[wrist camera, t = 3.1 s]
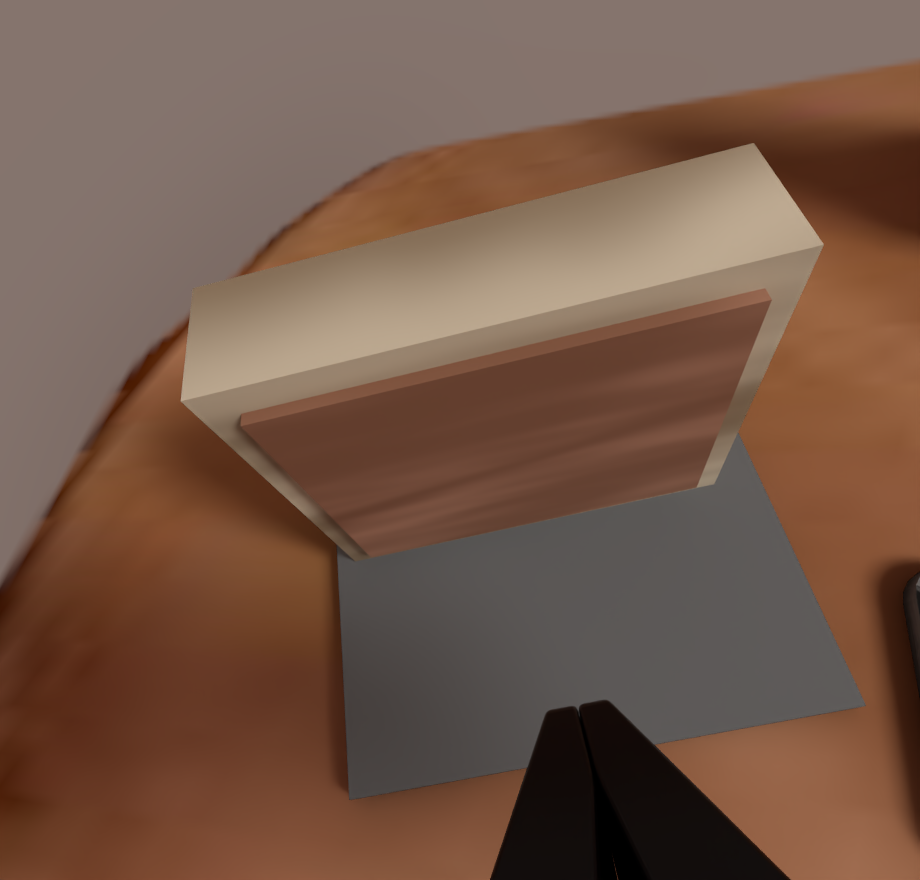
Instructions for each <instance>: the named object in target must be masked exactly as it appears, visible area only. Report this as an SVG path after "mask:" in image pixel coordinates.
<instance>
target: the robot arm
mask: <svg viewBox="0 0 920 880" xmlns="http://www.w3.org/2000/svg"><path fill="white" fill-rule="evenodd" d="M579 715H580V716H579ZM613 860H614V861H613ZM614 864H615V865H614ZM615 868H616V870H615ZM616 873H617V874H616ZM617 877H618V879H617ZM490 880H790V879H789V878H788V877H787V876H786V875H785V874H784V873H783V872H782V871H781V870H780V869H779V868H778V867H777V866H776V865H775V864H774V863H773V862H772V861H771V860H770V859H769V858H768V857H767V856H766V855H765V854H764V853H763V852H762V851H761V850H760V849H759V848H758V847H757V846H756V845H755V844H754V843H753V842H752V841H751V840H750V839H749V838H748V837H747V836H746V835H745V834H744V833H743V832H742V831H741V830H740V829H739V828H738V827H737V826H736V825H735V824H734V823H733V822H732V821H731V820H730V819H729V818H728V817H727V816H726V815H725V814H724V813H723V812H722V811H721V810H720V809H719V808H718V807H717V806H716V805H715V804H714V803H713V802H712V801H711V800H710V799H709V798H708V797H707V796H706V795H705V794H704V793H703V792H701V791H700V790H699V789H698V788H697V787H696V786H695V785H694V784H693V783H692V782H691V781H690V780H689V779H688V778H687V777H686V776H685V775H684V774H683V773H682V772H681V771H680V770H679V769H678V768H677V767H676V766H675V765H674V764H673V763H672V762H671V761H670V760H669V759H668V758H667V757H666V756H665V755H664V754H663V753H662V752H661V751H660V750H659V749H658V748H657V747H656V746H655V745H654V744H653V743H652V742H651V741H650V740H649V739H648V738H647V737H646V736H645V735H644V734H643V733H642V732H641V731H640V730H639V729H638V728H637V727H636V726H635V725H634V724H633V723H632V722H631V721H630V720H629V719H628V718H627V717H626V716H625V715H624V714H623V713H622V712H621V711H620V710H619V709H618V708H617V707H616V706H615V705H614V704H612V703H611V702H610V701H609V700H599V701H594V702H588V703H583V704H581V705H580V706H579V712H578V709H577V708H576V707H575V706H567V707H562V708H556V709H551V710H549V711H547V712H546V714H545V716H544V719H543V722H542V725H541V728H540V731H539V734H538V737H537V740H536V743H535V746H534V749H533V752H532V755H531V758H530V761H529V764H528V767H527V770H526V773H525V776H524V779H523V782H522V785H521V788H520V791H519V794H518V797H517V800H516V803H515V806H514V809H513V812H512V815H511V818H510V821H509V824H508V827H507V830H506V833H505V836H504V839H503V842H502V845H501V848H500V851H499V854H498V857H497V860H496V863H495V866H494V869H493V872H492V875H491V878H490Z"/></svg>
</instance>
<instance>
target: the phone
mask: <svg viewBox="0 0 920 880" xmlns="http://www.w3.org/2000/svg"><path fill="white" fill-rule="evenodd" d="M903 605H904V611H905V617H906V623H907V628H908V634H909V640H910V645H911V651H912V657H913V662H914V668H915V674H916V680H917V685H918V691H919V697H920V572H919V573H917V574H916V575H915V576H914V577H913V578H911V579H910V580H909V581H908V583H907V585H906V587H905V589H904V592H903Z"/></svg>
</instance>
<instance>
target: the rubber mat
mask: <svg viewBox="0 0 920 880" xmlns="http://www.w3.org/2000/svg"><path fill="white" fill-rule="evenodd" d="M337 560H338V581H339V601H340V621H341V641H342V662H343V682H344V702H345V722H346V743H347V763H348V783H349V800H352V799H359V798H364V797H370V796H375V795H381V794H386V793H392V792H397V791H403V790H408V789H414V788H419V787H425V786H430V785H436V784H441V783H447V782H452V781H458V780H463V779H469V778H474V777H480V776H485V775H491V774H496V773H502V772H507V771H512V770H518V769H523V768H527V767H528V764H529V761H530V758H531V755H532V752H533V749H534V746H535V743H536V740H537V737H538V734H539V731H540V728H541V725H542V722H543V719H544V716H545V714H546V712H547V711H549V710H551V709H556V708H562V707H567V706H575V707H576V708H577V709H578V712H579V706H580V705H581V704H583V703H588V702H594V701H599V700H609V701H610V702H611V703H612V704H614V705H615V706H616V707H617V708H618V709H619V710H620V711H621V712H622V713H623V714H624V715H625V716H626V717H627V718H628V719H629V720H630V721H631V722H632V723H633V724H634V725H635V726H636V727H637V728H638V729H639V730H640V731H641V732H642V733H643V734H644V735H645V736H646V737H647V738H648V739H649V740H650V741H651V742H652V743H653V744H654V745H655V744H661V743H666V742H672V741H677V740H683V739H688V738H694V737H699V736H705V735H710V734H716V733H721V732H727V731H732V730H737V729H743V728H748V727H754V726H759V725H765V724H770V723H776V722H781V721H787V720H792V719H798V718H803V717H809V716H814V715H820V714H825V713H831V712H836V711H842V710H847V709H853V708H858V707H862V706H866V705H865V703H864V700H863V698H862V696H861V694H860V692H859V690H858V688H857V686H856V683H855V681H854V679H853V677H852V675H851V673H850V671H849V668H848V666H847V664H846V662H845V660H844V658H843V656H842V653H841V651H840V649H839V647H838V645H837V643H836V641H835V639H834V636H833V634H832V632H831V630H830V628H829V626H828V624H827V621H826V619H825V617H824V615H823V613H822V611H821V609H820V606H819V604H818V602H817V600H816V598H815V596H814V594H813V591H812V589H811V587H810V585H809V583H808V581H807V579H806V577H805V574H804V572H803V570H802V568H801V566H800V564H799V562H798V559H797V557H796V555H795V553H794V551H793V549H792V547H791V544H790V542H789V540H788V538H787V536H786V534H785V532H784V529H783V527H782V525H781V523H780V521H779V519H778V517H777V515H776V512H775V510H774V508H773V506H772V504H771V502H770V500H769V497H768V495H767V493H766V491H765V489H764V487H763V485H762V482H761V480H760V478H759V476H758V474H757V472H756V470H755V468H754V465H753V463H752V461H751V459H750V457H749V455H748V453H747V450H746V448H745V446H744V444H743V442H742V440H741V438H740V435H739V433H737V435H736V438H735V440H734V442H733V444H732V446H731V449H730V451H729V453H728V455H727V457H726V459H725V462H724V464H723V466H722V468H721V470H720V473H719V475H718V477H717V479H716V481H715V484H713V485H708V486H703V487H699V488H694V489H689V490H685V491H680V492H675V493H671V494H666V495H661V496H657V497H652V498H648V499H643V500H638V501H634V502H629V503H624V504H620V505H615V506H610V507H606V508H601V509H596V510H592V511H587V512H583V513H578V514H573V515H569V516H564V517H559V518H555V519H550V520H545V521H541V522H536V523H531V524H527V525H522V526H518V527H513V528H508V529H504V530H499V531H494V532H490V533H485V534H480V535H476V536H471V537H466V538H462V539H457V540H453V541H448V542H443V543H439V544H434V545H429V546H425V547H420V548H415V549H411V550H406V551H401V552H397V553H392V554H388V555H383V556H378V557H374V558H369V559H364V560H360V561H354V560H353V559H352V558H351V557H350V556H349V555H348V554H347V553H346V552H344V551H343V550H342V549H341V548H340V547H339V546H338V545H337ZM579 716H580V715H579Z"/></svg>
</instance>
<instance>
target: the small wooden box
mask: <svg viewBox="0 0 920 880" xmlns="http://www.w3.org/2000/svg"><path fill="white" fill-rule="evenodd" d="M823 245H824V244H823V243H822V241H821V240H820V238H819V237H818V235H817V234H816V232H815V231H814V230H813V228H812V227H811V225H810V224H809V222H808V221H807V219H806V218H805V217H804V215H803V214H802V212H801V211H800V209H799V208H798V206H797V205H796V203H795V202H794V201H793V199H792V198H791V196H790V195H789V193H788V192H787V190H786V189H785V188H784V186H783V185H782V183H781V182H780V180H779V179H778V177H777V176H776V174H775V173H774V172H773V170H772V169H771V167H770V166H769V164H768V163H767V161H766V160H765V158H764V157H763V156H762V154H761V153H760V151H759V150H758V148H757V147H756V145H755V144H754V143H752V144H748V145H744V146H740V147H736V148H732V149H729V150H725V151H721V152H717V153H713V154H709V155H705V156H702V157H698V158H694V159H690V160H686V161H682V162H679V163H675V164H671V165H667V166H663V167H659V168H655V169H652V170H648V171H644V172H640V173H636V174H632V175H628V176H625V177H621V178H617V179H613V180H609V181H605V182H601V183H598V184H594V185H590V186H586V187H582V188H578V189H574V190H571V191H567V192H563V193H559V194H555V195H551V196H547V197H544V198H540V199H536V200H532V201H528V202H524V203H520V204H517V205H513V206H509V207H505V208H501V209H497V210H493V211H490V212H486V213H482V214H478V215H474V216H470V217H467V218H463V219H459V220H455V221H451V222H447V223H443V224H440V225H436V226H432V227H428V228H424V229H420V230H416V231H413V232H409V233H405V234H401V235H397V236H393V237H389V238H386V239H382V240H378V241H374V242H370V243H366V244H362V245H359V246H355V247H351V248H347V249H343V250H339V251H335V252H332V253H328V254H324V255H320V256H316V257H312V258H308V259H305V260H301V261H297V262H293V263H289V264H285V265H281V266H278V267H274V268H270V269H266V270H262V271H258V272H254V273H251V274H247V275H243V276H239V277H235V278H231V279H228V280H224V281H220V282H216V283H212V284H208V285H205V286H201V287H197V288H193V292H192V302H191V311H190V320H189V329H188V338H187V348H186V357H185V366H184V375H183V384H182V394H181V402H182V403H183V404H184V405H185V406H186V407H187V408H188V409H190V410H191V411H192V412H193V413H194V414H195V415H196V416H197V417H198V418H199V419H200V420H202V421H203V422H204V423H205V424H206V425H207V426H208V427H209V428H210V429H211V430H212V431H214V432H215V433H216V434H217V435H218V436H219V437H220V438H221V439H222V440H223V441H224V442H226V443H227V444H228V445H229V446H230V447H231V448H232V449H233V450H234V451H235V452H236V453H238V454H239V455H240V456H241V457H242V458H243V459H244V460H245V461H246V462H247V463H248V464H250V465H251V466H252V467H253V468H254V469H255V470H256V471H257V472H258V473H259V474H260V475H262V476H263V477H264V478H265V479H266V480H267V481H268V482H269V483H270V484H271V485H272V486H274V487H275V488H276V489H277V490H278V491H279V492H280V493H281V494H282V495H283V496H284V497H286V498H287V499H288V500H289V501H290V502H291V503H292V504H293V505H294V506H295V507H296V508H298V509H299V510H300V511H301V512H302V513H303V514H304V515H305V516H306V517H307V518H308V519H310V520H311V521H312V522H313V523H314V524H315V525H316V526H317V527H318V528H319V529H320V530H322V531H323V532H324V533H325V534H326V535H327V536H328V537H329V538H330V539H331V540H332V541H334V542H335V543H336V544H337V545H338V546H339V547H340V548H341V549H342V550H343V551H344V552H346V553H347V554H348V555H349V556H350V557H351V558H352V559H353V560H354V561H360V560H364V559H369V558H374V557H378V556H383V555H388V554H392V553H397V552H401V551H406V550H411V549H415V548H420V547H425V546H429V545H434V544H439V543H443V542H448V541H453V540H457V539H462V538H466V537H471V536H476V535H480V534H485V533H490V532H494V531H499V530H504V529H508V528H513V527H518V526H522V525H527V524H531V523H536V522H541V521H545V520H550V519H555V518H559V517H564V516H569V515H573V514H578V513H583V512H587V511H592V510H596V509H601V508H606V507H610V506H615V505H620V504H624V503H629V502H634V501H638V500H643V499H648V498H652V497H657V496H661V495H666V494H671V493H675V492H680V491H685V490H689V489H694V488H699V487H703V486H708V485H713V484H715V481H716V479H717V477H718V475H719V473H720V470H721V468H722V466H723V464H724V462H725V459H726V457H727V455H728V453H729V451H730V449H731V446H732V444H733V442H734V440H735V438H736V435H737V433H738V431H739V429H740V427H741V425H742V422H743V420H744V418H745V416H746V414H747V411H748V409H749V407H750V405H751V403H752V401H753V398H754V396H755V394H756V392H757V390H758V387H759V385H760V383H761V381H762V379H763V376H764V374H765V372H766V370H767V368H768V366H769V363H770V361H771V359H772V357H773V355H774V352H775V350H776V348H777V346H778V344H779V342H780V339H781V337H782V335H783V333H784V331H785V328H786V326H787V324H788V322H789V320H790V317H791V315H792V313H793V311H794V309H795V307H796V304H797V302H798V300H799V298H800V296H801V293H802V291H803V289H804V287H805V285H806V283H807V280H808V278H809V276H810V274H811V272H812V269H813V267H814V265H815V263H816V261H817V258H818V256H819V254H820V252H821V250H822V248H823Z"/></svg>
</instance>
